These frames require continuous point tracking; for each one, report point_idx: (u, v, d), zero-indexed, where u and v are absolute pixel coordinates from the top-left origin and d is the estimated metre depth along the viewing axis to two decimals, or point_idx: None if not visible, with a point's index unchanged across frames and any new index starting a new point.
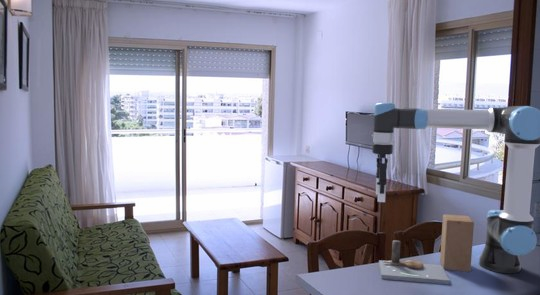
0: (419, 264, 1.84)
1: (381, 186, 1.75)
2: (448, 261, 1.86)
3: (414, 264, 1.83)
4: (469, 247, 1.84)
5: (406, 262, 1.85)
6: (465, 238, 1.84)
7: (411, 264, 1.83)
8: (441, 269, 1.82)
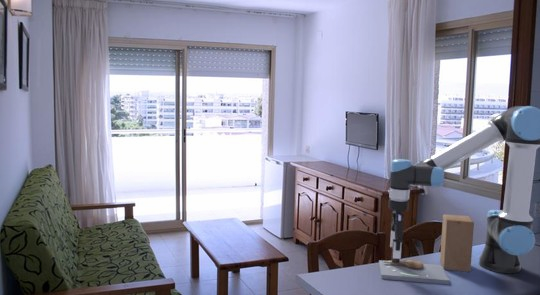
0: (419, 264, 1.84)
1: (397, 243, 1.77)
2: (448, 261, 1.86)
3: (414, 264, 1.83)
4: (469, 247, 1.84)
5: (406, 262, 1.85)
6: (465, 238, 1.84)
7: (411, 264, 1.83)
8: (441, 269, 1.82)
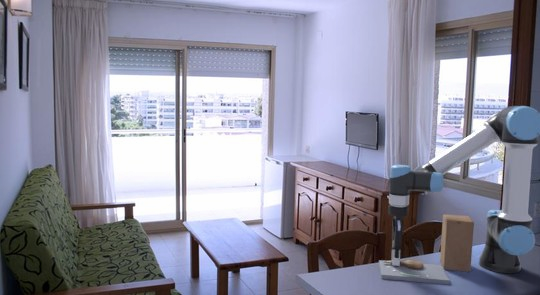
0: (419, 264, 1.84)
1: (396, 251, 1.82)
2: (448, 261, 1.86)
3: (414, 264, 1.83)
4: (469, 247, 1.84)
5: (406, 262, 1.85)
6: (465, 238, 1.84)
7: (411, 264, 1.83)
8: (441, 269, 1.82)
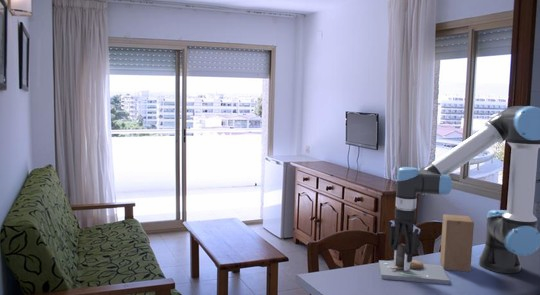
0: (419, 263, 1.85)
1: (410, 255, 1.78)
2: (448, 261, 1.86)
3: (416, 264, 1.84)
4: (469, 247, 1.84)
5: None
6: (465, 238, 1.84)
7: (415, 265, 1.83)
8: (441, 269, 1.82)
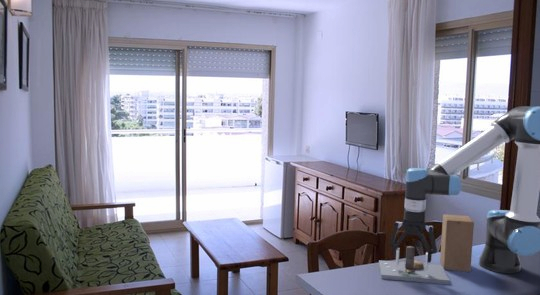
0: (418, 262, 1.86)
1: (431, 255, 1.75)
2: (448, 261, 1.86)
3: (418, 263, 1.84)
4: (469, 247, 1.84)
5: None
6: (465, 238, 1.84)
7: (418, 264, 1.83)
8: (441, 269, 1.82)
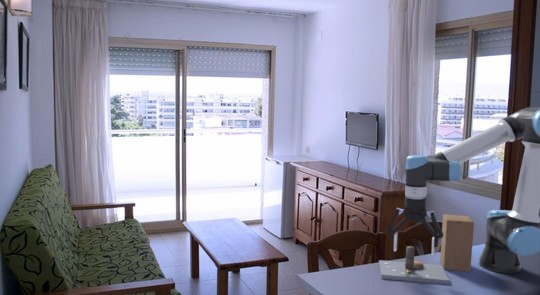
0: (418, 262, 1.86)
1: (437, 239, 1.74)
2: (448, 261, 1.86)
3: (418, 263, 1.84)
4: (469, 247, 1.84)
5: None
6: (465, 238, 1.84)
7: (418, 264, 1.83)
8: (441, 269, 1.82)
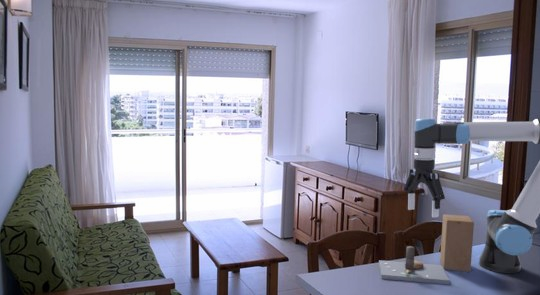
0: (418, 262, 1.86)
1: (437, 201, 1.76)
2: (448, 261, 1.86)
3: (418, 263, 1.84)
4: (469, 247, 1.84)
5: None
6: (465, 238, 1.84)
7: (418, 264, 1.83)
8: (441, 269, 1.82)
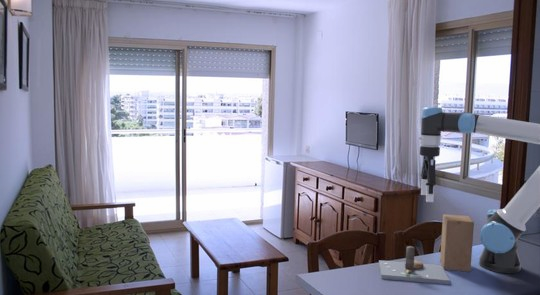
0: (418, 262, 1.86)
1: (430, 187, 1.83)
2: (448, 261, 1.86)
3: (418, 263, 1.84)
4: (469, 247, 1.84)
5: None
6: (465, 238, 1.84)
7: (418, 264, 1.83)
8: (441, 269, 1.82)
